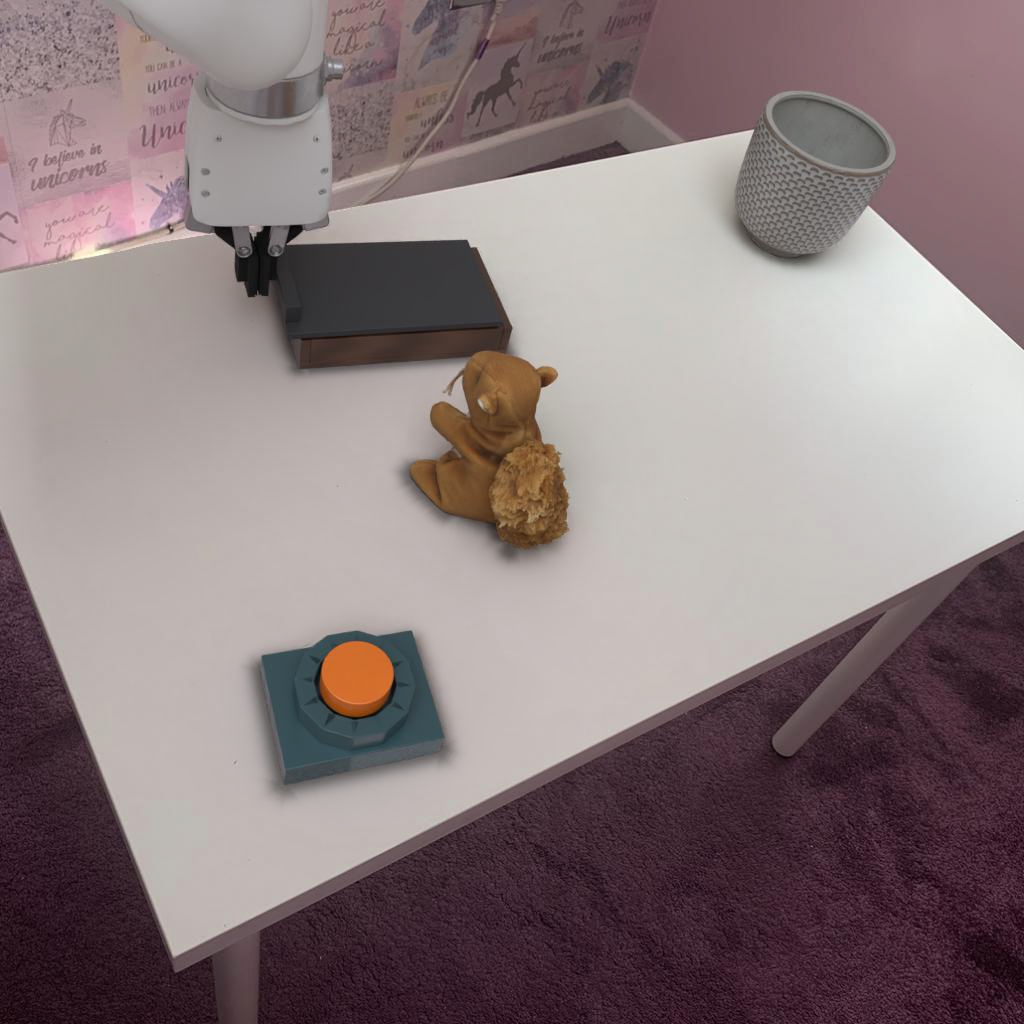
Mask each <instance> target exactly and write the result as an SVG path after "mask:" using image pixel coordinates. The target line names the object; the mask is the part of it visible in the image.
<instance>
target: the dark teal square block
mask: <svg viewBox="0 0 1024 1024" xmlns="http://www.w3.org/2000/svg"><path fill="white" fill-rule="evenodd" d="M351 641H362V642H367V643H370V644H373V645H375V646H377V647H378V648H380V649H381V650H382V651H383V652H384V653H385V654H386V655H387V656H388V658H389V659H390V661H391V663H392V666H393V670H394V679H393V683H392V687H391V690H390V694H389V697H388V699H387V701H386V702H385V704H384V705H383V706H382V707H381V708H380V709H379V710H377V711H376V712H374V713H372V714H370V715H367V716H362V717H349V716H345V715H342V714H340V713H338V712H336V711H334V710H333V709H331V708H330V707H329V706H328V705H327V704H326V702H325V701H324V699H323V697H322V695H321V692H320V687H319V682H320V675H321V669H322V665H323V662H324V659H325V658H326V656H327V655H328V653H329V652H330V651H331V650H333V649H334V648H335V647H337V646H339V645H341V644H343V643H346V642H351ZM259 673H260V678H261V683H262V687H263V692H264V697H265V701H266V702H265V703H266V706H267V711H268V716H269V721H270V727H271V731H272V734H273V741H274V745H275V749H276V754H277V758H278V759H277V760H278V764H279V768H280V773H281V777H282V782H283V785H285V786H286V785H291V784H294V783H299V782H304V781H309V780H313V779H318V778H323V777H328V776H333V775H337V774H341V773H346V772H351V771H355V770H356V771H357V770H360V769H365V768H370V767H375V766H379V765H383V764H389V763H393V762H394V763H395V762H398V761H404V760H409V759H413V758H416V757H422V756H427V755H431V754H436V753H440V751H441V747H442V745H443V743H444V740H445V733H444V731H443V727H442V724H441V721H440V718H439V715H438V710H437V707H436V704H435V701H434V697H433V695H432V692H431V691H432V690H431V688H430V685H429V681H428V679H427V675H426V671H425V668H424V665H423V661H422V658H421V656H420V652H419V648H418V645H417V642H416V639H415V636H414V632H413V630H412V629H411V630H405V631H399V632H393V633H392V632H391V633H386V634H381V635H375V634H371V633H367V632H364V631H361V630H350V631H345V632H344V631H343V632H338V633H332V634H327V635H325V636H324V637H322V639H320V640H318V642H316V643H315V644H313V645H312V646H310V647H304V648H298V649H297V648H296V649H291V650H285V651H279V652H274V653H267V654H262V655H261V658H260V669H259Z"/></svg>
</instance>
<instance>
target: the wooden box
mask: <svg viewBox="0 0 1024 1024" xmlns="http://www.w3.org/2000/svg"><path fill="white" fill-rule="evenodd" d="M470 247H471V249H472V251H473V254H474V256H475V258H476V261H477V263H478V265H479V267H480V270H481V272H482V274H483V276H484V279H485V281H486V283H487V286H488V288H489V290H490V292H491V295H492V297H493V299H494V301H495V304H496V306H497V308H498V311H499V313H500V315H501V317H502V320H503V324H502V326H495V327H479V328H462V329H446V330H430V331H413V332H397V333H381V334H364V335H348V336H332V337H315V338H299V339H290V343H291V346H292V349H293V353H294V357H295V361H296V363H297V368H298V369H299V370H300V369H301V370H302V369H303V370H304V369H316V368H329V367H330V368H331V367H344V366H358V365H371V364H373V365H374V364H385V363H387V364H388V363H399V362H400V363H401V362H413V361H429V360H430V361H431V360H441V359H442V360H443V359H458V358H471V357H472V356H473V355H474V354H475V353H478V352H481V351H494V352H500V353H504V354H507V349H508V346H509V343H510V339H511V337H512V332H513V329H514V327H513V326H512V324H511V321H510V319H509V316H508V313H507V312H506V310H505V308H504V306H503V304H502V301H501V298H500V297H499V294H498V292H497V289H496V288H495V285H494V283H493V281H492V278H491V276H490V273H489V272H488V269H487V267H486V264H485V263H484V261H483V259H482V256H481V254H480V251H479V249H478V247H477V246H470Z"/></svg>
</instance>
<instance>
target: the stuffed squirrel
mask: <svg viewBox="0 0 1024 1024" xmlns="http://www.w3.org/2000/svg"><path fill="white" fill-rule="evenodd" d="M558 377H559V373H558V370H557V369H556V368H555V367H553V366H549V365H546V366H545V365H542V366H540V367H538V368H535V366H533V364H531V362H529V361H528V360H526V359H524V358H522V357H520V356H517V355H516V356H515V355H511V354H507V353H505V354H504V353H500V352H494V351H481V352H478V353H475V354H474V355H473V356H472V357H470V358H469V359H468V360H467V361H466V364H465V366H464V367H463V368H461V370H460V371H458V372H457V374H456V375H455V376H454V377H453V378H452V379H451V380H450V382H449V383H448V385H447V386H446V387H445V389H444V390H442V393H443V394H447V395H448V396H449V397H452V391H453V388H454V386H455V383H456V382H457V380H458V379H459V378H461V385H462V390H463V395H464V399H465V401H466V406H467V409H468V412H467V413H464V412H463V411H461V410H460V409H458V408H457V407H455V406H454V405H452V404H451V403H449V402H447V401H442V400H441V401H439V402H437V403H436V402H435V403H433V404H432V406H431V409H430V411H429V420H430V423H431V426H432V427H433V429H434V430H435V431H436V432H437V433H438V434H439V435H440V436H441V437H442V438H444V439H445V440H446V441H447V442H448V443H449V444H450V445H451V446H452V448H451V449H450V450H449V451H447V452H445V453H443V454H442V455H441V456H440V457H439V459H438V460H435V459H432V458H431V459H430V458H428V459H426V458H425V459H418V460H416V461H414V462H413V463H412V465H411V466H410V469H409V473H410V477H411V478H412V479H413V481H414V482H415V484H416V485H417V486H418V488H419V489H420V490H421V491H422V492H423V493H424V494H425V495H426V496H427V497H428V498H429V499H430V500H431V501H432V502H433V504H434V505H435V506H437V507H438V508H439V509H440V510H442V511H443V512H446V513H448V514H451V515H454V516H457V517H461V518H465V519H470V520H476V521H480V522H485V523H493V524H495V529H496V533H497V536H498V537H499V539H500V540H501V542H504V541H506V542H508V544H509V546H510V547H514V548H521V549H522V550H528V549H529V550H530V548H533V547H538V546H539V545H548V544H550V543H552V542H553V541H555V540H556V539H559V538H561V539H562V536H564V534H565V533H567V532H569V531H570V527H568V526H569V525H568V522H567V518H568V511H567V510H568V508H569V506H570V502H569V499H570V497H569V495H570V493H569V492H568V491H567V488H566V486H565V485H564V482H565V481H566V480H567V479H566V475H565V474H564V470H565V467H560V466H559V463H561V459H562V456H560V455H563V453H562V452H561V451H557V449H556V446H555V444H554V443H552V444H551V443H545V444H544V442H543V439H542V432H541V429H540V427H539V426H540V425H539V424H538V421H537V419H536V413H537V407H538V406H537V405H538V404H539V400H540V396H541V392H542V391H541V390H542V389H543V388H546V387H549V385H552V383H554V382H555V381H556V380H557V378H558ZM556 451H557V452H556Z"/></svg>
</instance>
